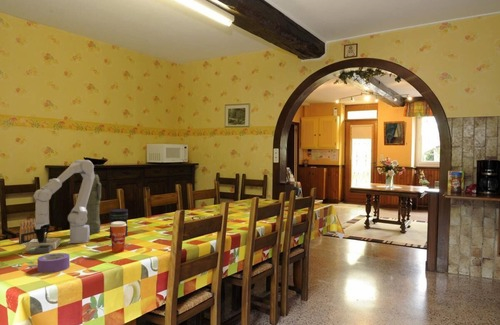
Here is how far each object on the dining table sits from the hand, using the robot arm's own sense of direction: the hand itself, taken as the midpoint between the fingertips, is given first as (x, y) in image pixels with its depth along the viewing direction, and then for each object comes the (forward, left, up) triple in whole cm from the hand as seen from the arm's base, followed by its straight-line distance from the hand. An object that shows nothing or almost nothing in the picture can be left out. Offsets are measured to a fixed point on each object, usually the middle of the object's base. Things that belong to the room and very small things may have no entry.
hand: (42, 240), depth 179 cm
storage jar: (-34, -21, -4) cm, 40 cm away
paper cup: (-37, +12, -4) cm, 39 cm away
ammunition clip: (+10, -16, -4) cm, 19 cm away
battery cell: (0, 0, -3) cm, 3 cm away
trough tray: (0, -2, -4) cm, 4 cm away
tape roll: (-14, +34, -4) cm, 37 cm away
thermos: (-18, -32, -4) cm, 37 cm away
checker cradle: (-1, +7, -4) cm, 8 cm away
